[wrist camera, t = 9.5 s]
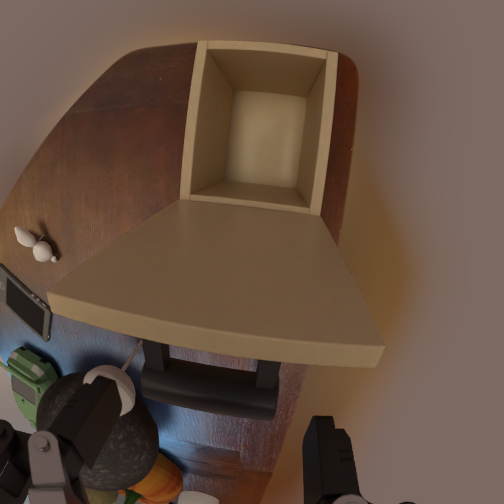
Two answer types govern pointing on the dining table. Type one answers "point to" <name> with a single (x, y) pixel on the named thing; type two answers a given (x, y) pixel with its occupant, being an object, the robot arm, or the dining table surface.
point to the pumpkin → (156, 484)
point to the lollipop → (117, 380)
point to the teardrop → (196, 498)
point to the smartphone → (25, 304)
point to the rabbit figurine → (35, 245)
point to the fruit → (101, 496)
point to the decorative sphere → (118, 443)
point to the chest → (259, 125)
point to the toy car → (29, 380)
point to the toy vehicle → (121, 499)
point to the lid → (224, 302)
